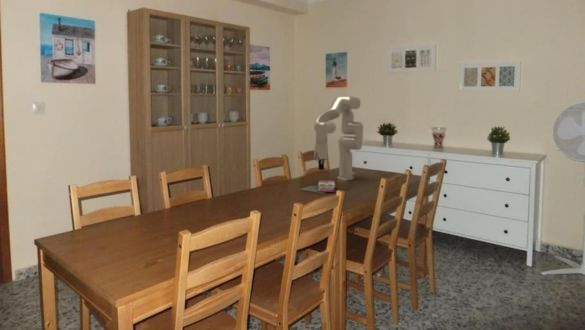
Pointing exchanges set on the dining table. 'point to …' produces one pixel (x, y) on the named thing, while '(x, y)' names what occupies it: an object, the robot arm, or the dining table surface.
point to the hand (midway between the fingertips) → (321, 169)
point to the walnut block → (341, 184)
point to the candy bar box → (326, 185)
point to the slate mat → (312, 189)
